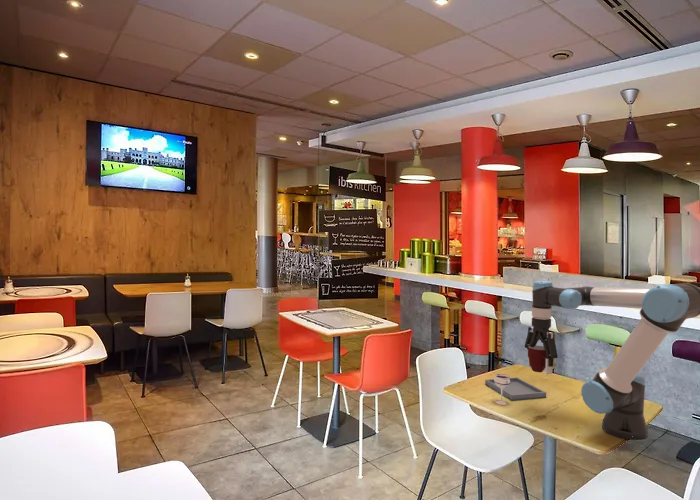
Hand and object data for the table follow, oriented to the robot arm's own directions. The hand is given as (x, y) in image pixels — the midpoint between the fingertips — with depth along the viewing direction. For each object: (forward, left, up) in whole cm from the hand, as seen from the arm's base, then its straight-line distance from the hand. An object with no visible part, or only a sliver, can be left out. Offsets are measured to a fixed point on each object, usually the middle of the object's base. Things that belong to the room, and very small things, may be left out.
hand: (539, 369), depth 191 cm
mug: (0, 0, -1) cm, 1 cm away
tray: (+24, -5, -18) cm, 30 cm away
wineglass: (+12, +10, -18) cm, 24 cm away
